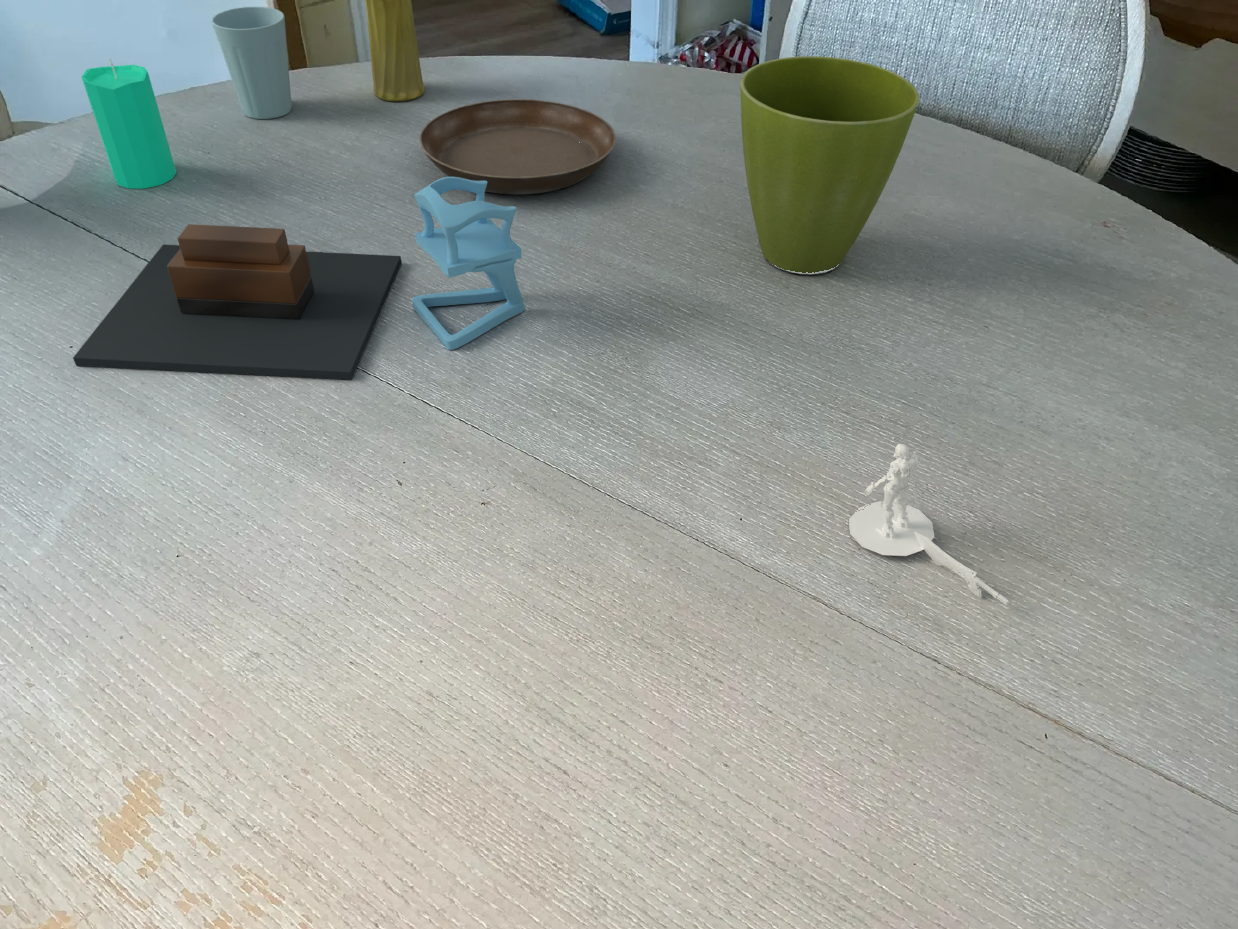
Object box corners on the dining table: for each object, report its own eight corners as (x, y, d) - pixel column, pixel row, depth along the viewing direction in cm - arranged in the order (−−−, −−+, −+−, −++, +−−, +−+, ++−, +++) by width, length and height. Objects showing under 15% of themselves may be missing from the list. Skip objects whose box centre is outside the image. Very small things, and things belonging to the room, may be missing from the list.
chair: (538, 323, 86) (534, 192, 78) (448, 351, 82) (434, 217, 74) (497, 282, 91) (489, 154, 83) (411, 306, 87) (394, 176, 79)
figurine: (885, 502, 71) (896, 408, 67) (1033, 592, 64) (1058, 493, 59) (829, 537, 69) (836, 442, 64) (976, 636, 61) (997, 536, 56)
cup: (220, 109, 118) (197, 15, 111) (278, 92, 122) (260, 1, 115) (254, 129, 114) (234, 33, 107) (313, 110, 118) (297, 18, 111)
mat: (75, 365, 80) (72, 357, 79) (165, 251, 93) (162, 243, 93) (352, 380, 79) (350, 371, 79) (401, 263, 93) (400, 255, 92)
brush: (181, 313, 84) (159, 243, 80) (200, 285, 87) (180, 217, 83) (299, 319, 84) (284, 249, 80) (314, 291, 87) (300, 222, 83)
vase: (363, 91, 123) (345, -35, 113) (405, 79, 126) (391, -45, 117) (393, 106, 120) (376, -23, 110) (435, 93, 123) (422, -33, 114)
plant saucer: (487, 111, 119) (486, 82, 117) (646, 147, 113) (647, 118, 111) (383, 179, 105) (379, 149, 103) (557, 225, 99) (557, 194, 96)
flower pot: (744, 206, 103) (763, 45, 92) (892, 233, 99) (929, 69, 88) (704, 278, 92) (720, 105, 81) (868, 311, 88) (907, 134, 78)
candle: (102, 184, 103) (62, 65, 95) (136, 159, 107) (101, 44, 99) (155, 192, 102) (118, 72, 94) (187, 166, 106) (155, 50, 98)
